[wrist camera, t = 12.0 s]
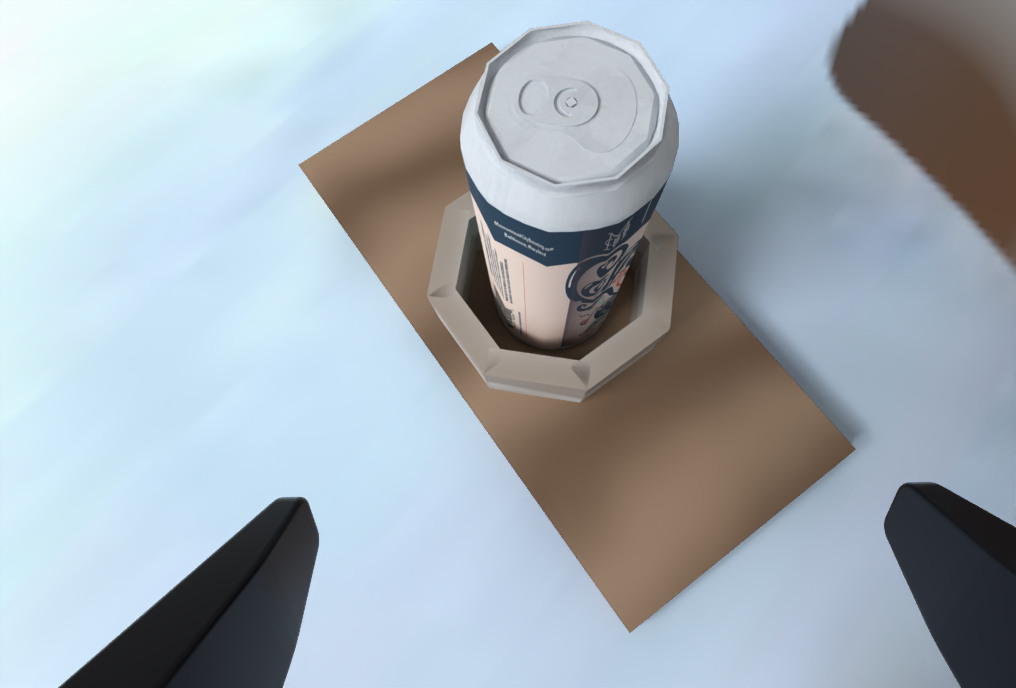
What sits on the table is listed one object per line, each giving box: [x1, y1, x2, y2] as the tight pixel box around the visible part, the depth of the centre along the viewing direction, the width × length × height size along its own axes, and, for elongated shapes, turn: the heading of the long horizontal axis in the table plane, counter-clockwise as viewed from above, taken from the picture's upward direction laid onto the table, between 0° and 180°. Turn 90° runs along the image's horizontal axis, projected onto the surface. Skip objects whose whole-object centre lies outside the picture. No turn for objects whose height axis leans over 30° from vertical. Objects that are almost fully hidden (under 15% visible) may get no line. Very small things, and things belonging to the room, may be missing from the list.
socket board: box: [299, 43, 856, 633], centre depth 21 cm, size 24×11×4 cm, turn 36°
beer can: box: [460, 21, 679, 350], centre depth 16 cm, size 5×5×12 cm
